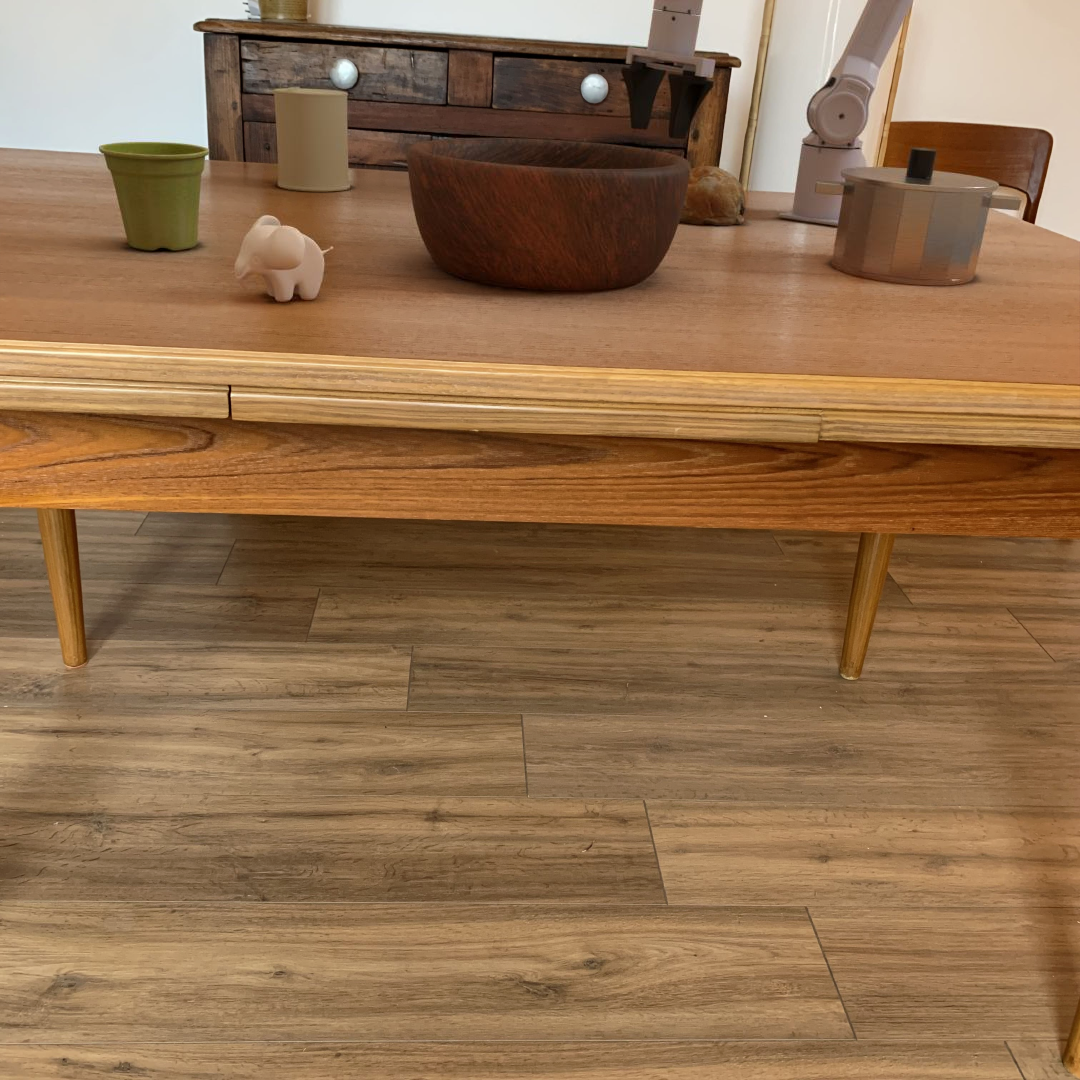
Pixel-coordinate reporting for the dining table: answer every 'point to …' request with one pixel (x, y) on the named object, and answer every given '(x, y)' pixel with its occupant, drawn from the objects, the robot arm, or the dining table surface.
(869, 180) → the pot lid
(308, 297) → the elephant figurine
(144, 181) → the plant pot
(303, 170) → the can
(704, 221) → the bread roll
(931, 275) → the pot
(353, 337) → the dining table surface
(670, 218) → the wooden bowl
